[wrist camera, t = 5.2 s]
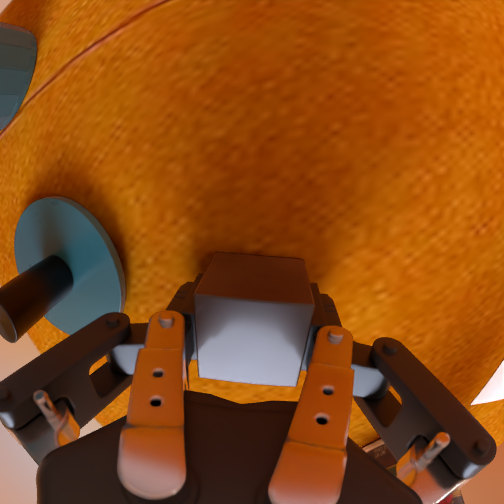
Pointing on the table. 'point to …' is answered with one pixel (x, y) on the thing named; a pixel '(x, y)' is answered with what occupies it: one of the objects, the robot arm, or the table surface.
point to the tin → (15, 68)
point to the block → (253, 319)
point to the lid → (60, 270)
